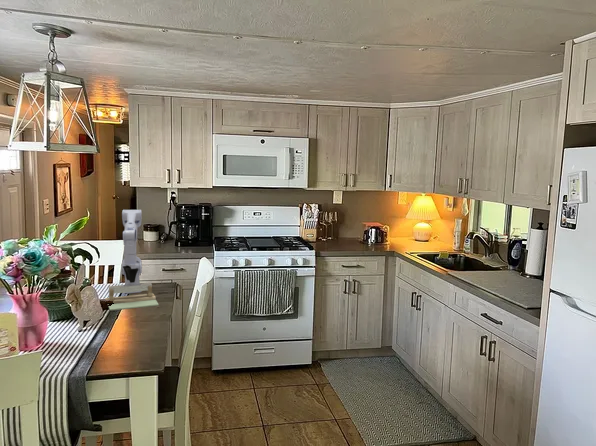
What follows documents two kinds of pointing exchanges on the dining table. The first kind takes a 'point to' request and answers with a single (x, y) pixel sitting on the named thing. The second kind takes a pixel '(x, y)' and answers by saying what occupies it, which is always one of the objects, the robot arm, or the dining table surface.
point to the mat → (133, 305)
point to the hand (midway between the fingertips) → (130, 281)
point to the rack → (131, 297)
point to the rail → (130, 288)
